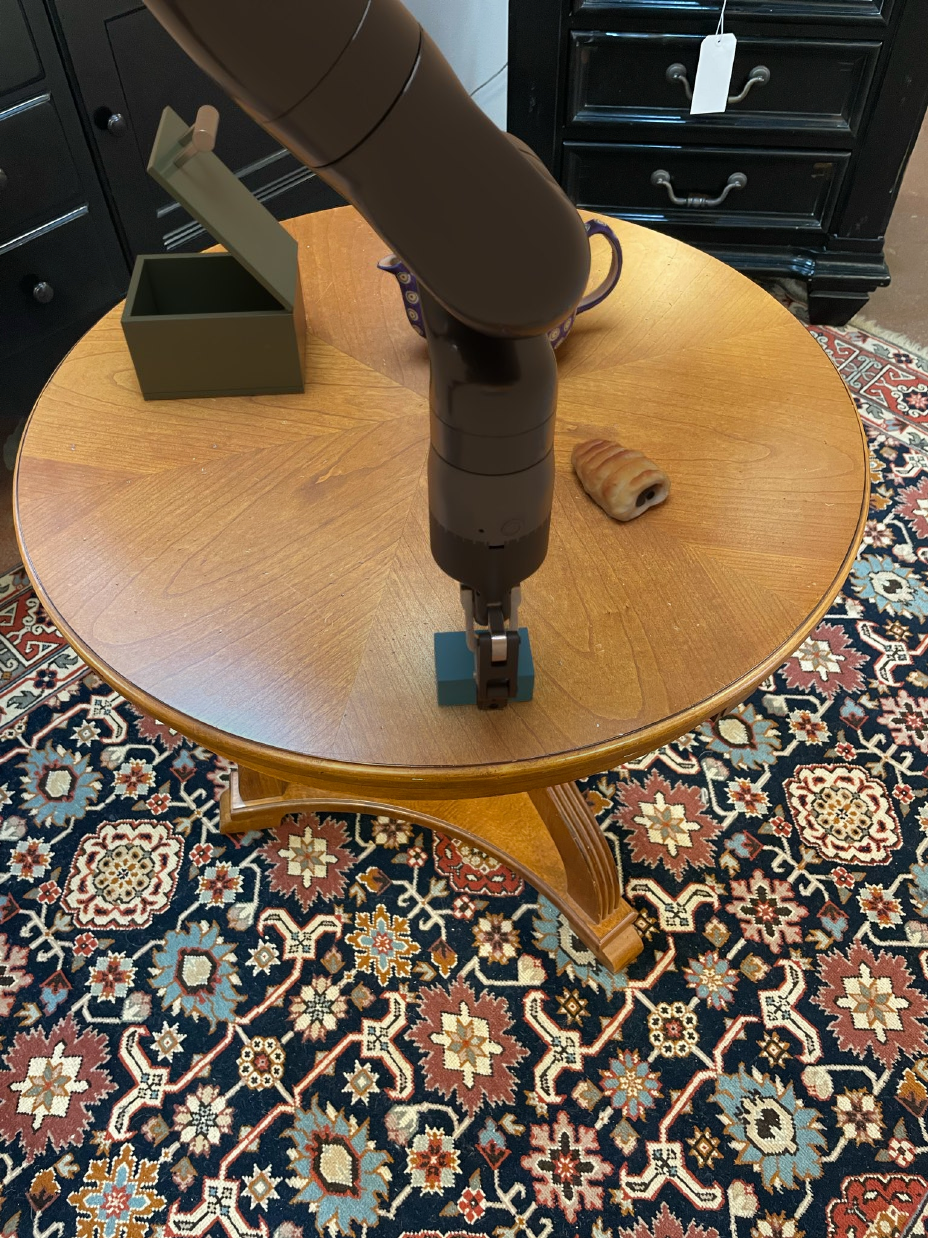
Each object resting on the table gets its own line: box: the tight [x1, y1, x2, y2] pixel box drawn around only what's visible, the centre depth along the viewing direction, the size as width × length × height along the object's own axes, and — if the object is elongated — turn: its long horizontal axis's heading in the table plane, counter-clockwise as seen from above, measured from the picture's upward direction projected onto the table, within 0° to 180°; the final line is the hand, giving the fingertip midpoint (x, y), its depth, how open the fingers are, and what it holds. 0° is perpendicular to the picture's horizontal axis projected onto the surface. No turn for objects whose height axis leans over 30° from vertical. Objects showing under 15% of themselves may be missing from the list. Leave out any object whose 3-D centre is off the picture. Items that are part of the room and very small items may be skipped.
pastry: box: [570, 437, 672, 522], centre depth 85 cm, size 9×7×4 cm
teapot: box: [376, 218, 624, 352], centre depth 94 cm, size 25×15×15 cm, turn 103°
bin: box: [120, 251, 308, 401], centre depth 94 cm, size 16×12×9 cm
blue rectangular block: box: [433, 626, 536, 707], centre depth 71 cm, size 7×4×3 cm, turn 95°
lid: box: [146, 104, 299, 312], centre depth 85 cm, size 16×12×5 cm
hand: (485, 658), depth 70 cm, fingers open, 8 cm apart
